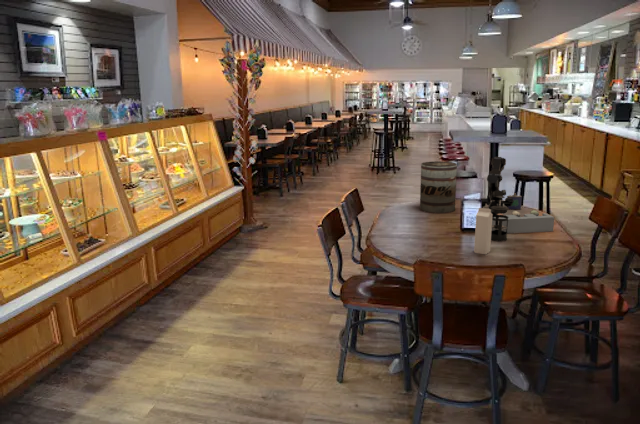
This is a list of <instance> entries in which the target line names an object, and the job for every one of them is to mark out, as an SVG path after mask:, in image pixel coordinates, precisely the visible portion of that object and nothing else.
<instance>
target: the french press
mask: <svg viewBox="0 0 640 424" xmlns="http://www.w3.org/2000/svg"><path fill="white" fill-rule="evenodd" d="M496 197H497V198H499V200H500V202H501V198H502V199H504V198H505V196H496ZM505 199H506V198H505ZM508 209H509V208H508V207H507V206H504V205H503V206H492V207H491V212H493V213H499V215H492V217H496V218H492V220H493V221H495V225H492V229H494V230H492V231H491V241H494V242H505V241H507V240H508V234H507V226H508V217H507V216H505V215H506V213H507V212H508V211H509V210H508ZM500 214H503V215H500ZM504 214H505V215H504ZM499 217H502V218H506V219H499ZM502 221H507V225H506V226H503V225H502ZM505 229H506V232H505V231H502V230H505Z"/></svg>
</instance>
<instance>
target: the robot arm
mask: <svg viewBox="0 0 640 424" xmlns="http://www.w3.org/2000/svg"><path fill="white" fill-rule="evenodd" d="M490 164H491V165H492V170H490V171H489V173H488V174H487V178H486V181H487V189H488V195H487V197H485V198H484V197H483V198H480V199H481V200H482V206H483V207H482V208H485V207H486V206H488V209H491V207H492V206H505V207H507V206H512V204H513V202H514V200H513V198H507V197H506V198H505V199H504V198H501V202H500V200H499V198H497V197H496V196H504V197H505V196H506V195H507V190H506V189H502V190H500V183H502V181H503V176H502V171H503V170H504V169H505V166H506V164H507V159H506V158H504V157H502V156H494V157H491V163H490ZM503 199H504V200H503ZM491 213H492V214H493V215H497V214H499V213H493V212H491Z"/></svg>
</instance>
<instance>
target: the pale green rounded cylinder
mask: <svg viewBox="0 0 640 424" xmlns="http://www.w3.org/2000/svg"><path fill="white" fill-rule="evenodd" d="M529 214H533V215H536V216H540V212H539V211H537V210H535V209H534V210H533V209H532V210H531V211H530V213H529Z"/></svg>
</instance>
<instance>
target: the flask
mask: <svg viewBox="0 0 640 424" xmlns="http://www.w3.org/2000/svg"><path fill="white" fill-rule="evenodd" d="M506 198H513V200H514V202H513V204H512V206H506V207H508V208H509V209H508V210H507V211H520V210H522V199H523V196H522V195H517V194H516V192H515V193H513V194H509V195H507V196H506Z"/></svg>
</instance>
